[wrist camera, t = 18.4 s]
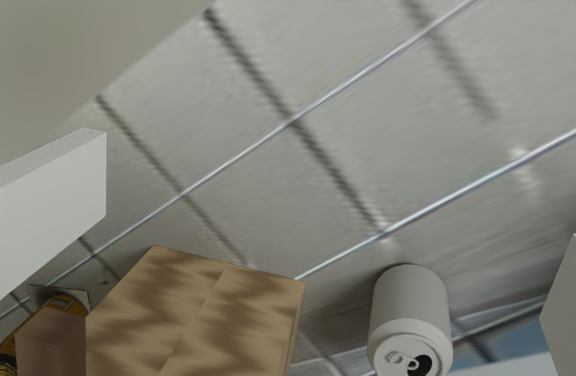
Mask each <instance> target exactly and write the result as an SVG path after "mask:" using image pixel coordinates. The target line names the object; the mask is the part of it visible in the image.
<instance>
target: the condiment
mask: <svg viewBox="0 0 576 376" xmlns="http://www.w3.org/2000/svg"><path fill="white" fill-rule="evenodd" d="M26 286H27V290H28V292H29V296H30V300H31V303H32V308H33V311H34V313H33V314H32V315H30V316H29V317H28V318H27V319H26V320H25V321H24V322H23V323H22V324H21V325H19V326H18V327H17V328H16V329H15V330H14V331H13V332H12V333H11V334H10V335H9V336H7V337H6V338H5V339H4V340H3V341H2V342H1V344H0V376H18V373H17V360H16V347H15V333H16V332H17V331H18V330H19V329H21V328H22V327H23V326H24V325H25V324H26V323H27V322H28V321H29V320H30V319H32V318H33V317H34V316H35V315H36V314H37V313H38V312H39V311H40V310H41V309H43V308H44V307H48V308H52V309H56V310H59V311H63V312H67V313H70V314H74V315H78V316H82V317H85V318H86V317H87V316H88V315H89V313H90V312H91V309H90V305H89V301H88V296H87V291H80V290H71V289H65V288H63V289H62V288H49V287H43V286H31V285H26ZM50 294H51V295H50Z"/></svg>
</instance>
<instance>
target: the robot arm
mask: <svg viewBox="0 0 576 376" xmlns="http://www.w3.org/2000/svg"><path fill="white" fill-rule="evenodd" d="M105 216H106V132H102V131H98V130H93V129H88V128H84V127H82V128H80V129H78V130H76V131H74V132H71V133H69V134H67V135H65V136H63V137H61V138H59V139H57V140H55V141H52V142H50V143H48V144H46V145H44V146H42V147H40V148H38V149H36V150H33V151H31V152H29V153H27V154H25V155H23V156H21V157H19V158H17V159H14V160H12V161H10V162H8V163H6V164H4V165H2V166H0V300H1V299H2V298H3V297H5V296H6V295H7V294H9V293H10V292H11V291H12V290H14V289H15V288H16V287H17V286H19V285H20V284H21V283H22V282H24V281H25V280H26V279H27V278H29V277H30V276H31V275H32V274H34V273H35V272H36V271H37V270H39V269H40V268H41V267H42V266H44V265H45V264H46V263H47V262H49V261H50V260H51V259H52V258H54V257H55V256H56V255H57V254H59V253H60V252H61V251H62V250H64V249H65V248H66V247H67V246H69V245H70V244H71V243H72V242H74V241H75V240H76V239H77V238H79V237H80V236H81V235H82V234H84V233H85V232H86V231H87V230H89V229H90V228H91V227H92V226H94V225H95V224H96V223H97V222H99V221H100V220H101V219H102V218H104V217H105ZM538 320H539V322H540V325H541V328H542V331H543V333H544V336H545V339H546V342H547V345H548V347H549V350H550V353H551V356H552V358H553V361H554V364H555V367H556V370H557V372H558V375H559V376H576V234H575V233H573V235H572V238H571V240H570V243H569V245H568V248H567V250H566V253H565V255H564V257H563V260H562V262H561V265H560V267H559V270H558V272H557V275H556V277H555V280H554V282H553V285H552V287H551V289H550V292H549V294H548V297H547V299H546V302H545V304H544V307H543V309H542V312H541V314H540V316H539V319H538Z"/></svg>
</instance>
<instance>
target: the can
mask: <svg viewBox="0 0 576 376" xmlns="http://www.w3.org/2000/svg"><path fill="white" fill-rule="evenodd" d="M367 356H368V359H369V361H370V364H371V366H372V367H373V368H374V370H375V372H376V375H377V376H445V375H446V374H447V373H448V371H449V369H450V367H451V365H452V363H453V346H452V336H451V327H450V317H449V308H448V298H447V292H446V289H445V286H444V283H443V282H442V281H441V279H440V278H439V277H438V276H437V275H436V274H435V273H433V272H432V271H430V270H429V269H427V268H424V267H421V266H418V265H409V264H404V265H399V266H395V267H392V268H391V269H389V270H387V271H385V272H384V273H383V274H382V275H381V276H380V277H379V279H378V280H377V282H376V285H375V287H374V293H373V301H372V309H371V317H370V326H369V334H368V342H367Z"/></svg>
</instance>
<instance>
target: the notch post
mask: <svg viewBox="0 0 576 376" xmlns="http://www.w3.org/2000/svg"><path fill="white" fill-rule="evenodd" d="M305 285H306V282H302V281H298V280H294V279H290V278H286V277H282V276H278V275H274V274H270V273H265V272H261V271H257V270H253V269H249V268H245V267H241V266H237V265H233V264H229V263H224V262H220V261H216V260H212V259H208V258H204V257H200V256H196V255H192V254H188V253H183V252H179V251H175V250H171V249H167V248H163V247H159V246H155V245H154V246H153V247H152V248H151V249H150V250H149V251H148V252H147V253H146V254H145V255H144V256H143V257H142V258H141V259H140V260H139V261H138V263H137V264H136V265H135V266H134V267H133V268H132V269H131V270H130V271H129V272H128V273H127V274H126V275H125V276H124V277H123V278H122V280H121V281H120V282H119V283H118V284H117V285H116V286H115V287H114V288H113V289H112V290H111V291H110V292H109V293H108V294H107V295H106V296H105V298H104V299H103V300H102V301H101V302H100V303H99V304H98V305H97V306H96V307H95V308H94V309H93V310H92V311H91V312H90V313H89V315H88V316H87V317H86V376H288V373H289V369H290V366H291V360H292V355H293V350H294V344H295V339H296V334H297V328H298V323H299V317H300V312H301V307H302V301H303V296H304V290H305Z"/></svg>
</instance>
